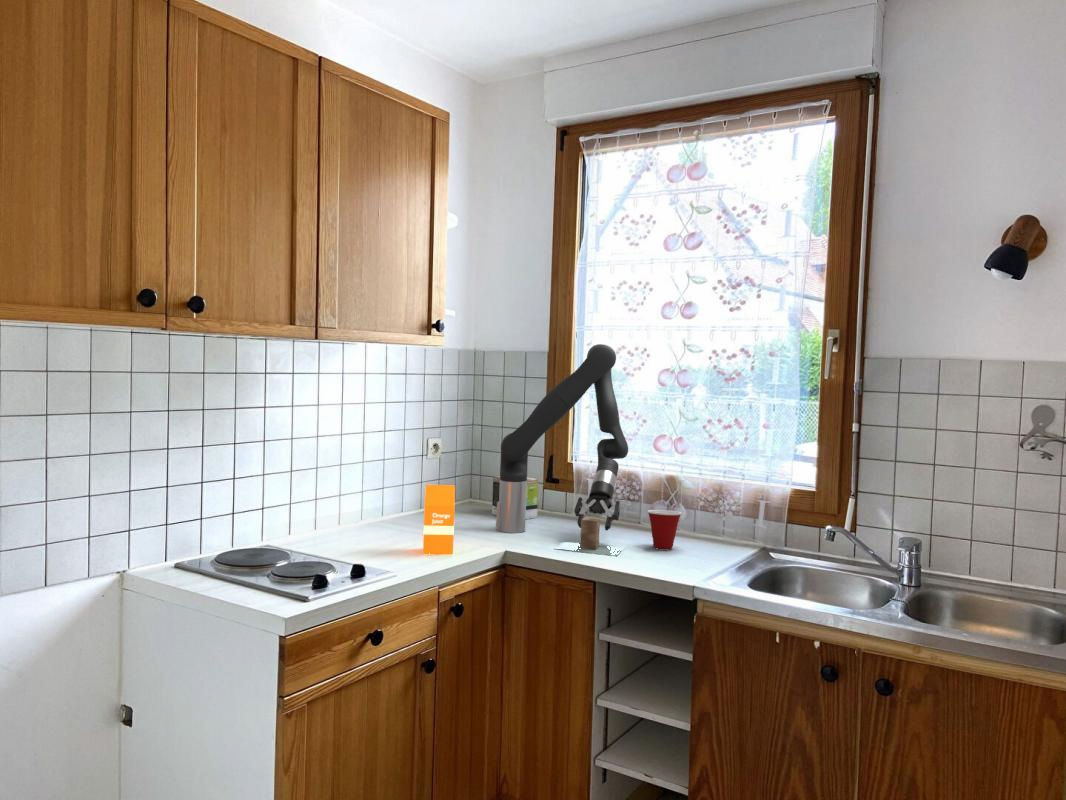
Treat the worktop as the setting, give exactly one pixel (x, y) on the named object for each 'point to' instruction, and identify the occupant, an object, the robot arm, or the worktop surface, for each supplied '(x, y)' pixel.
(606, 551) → the mat
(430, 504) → the orange juice
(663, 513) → the plastic cup
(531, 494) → the tea box
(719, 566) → the worktop surface
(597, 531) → the walnut block
